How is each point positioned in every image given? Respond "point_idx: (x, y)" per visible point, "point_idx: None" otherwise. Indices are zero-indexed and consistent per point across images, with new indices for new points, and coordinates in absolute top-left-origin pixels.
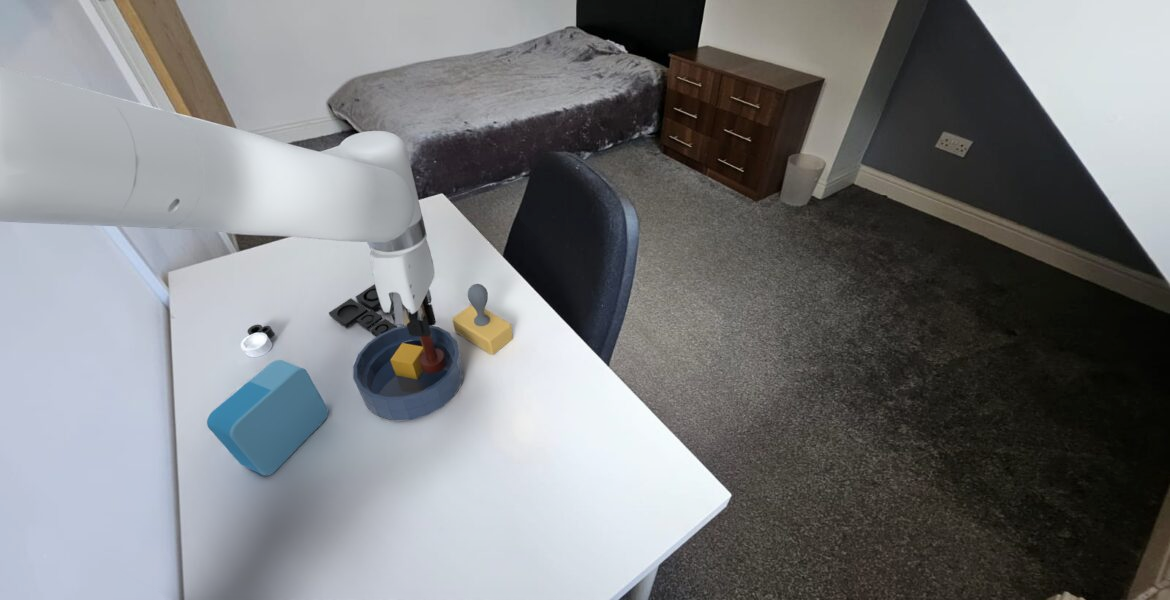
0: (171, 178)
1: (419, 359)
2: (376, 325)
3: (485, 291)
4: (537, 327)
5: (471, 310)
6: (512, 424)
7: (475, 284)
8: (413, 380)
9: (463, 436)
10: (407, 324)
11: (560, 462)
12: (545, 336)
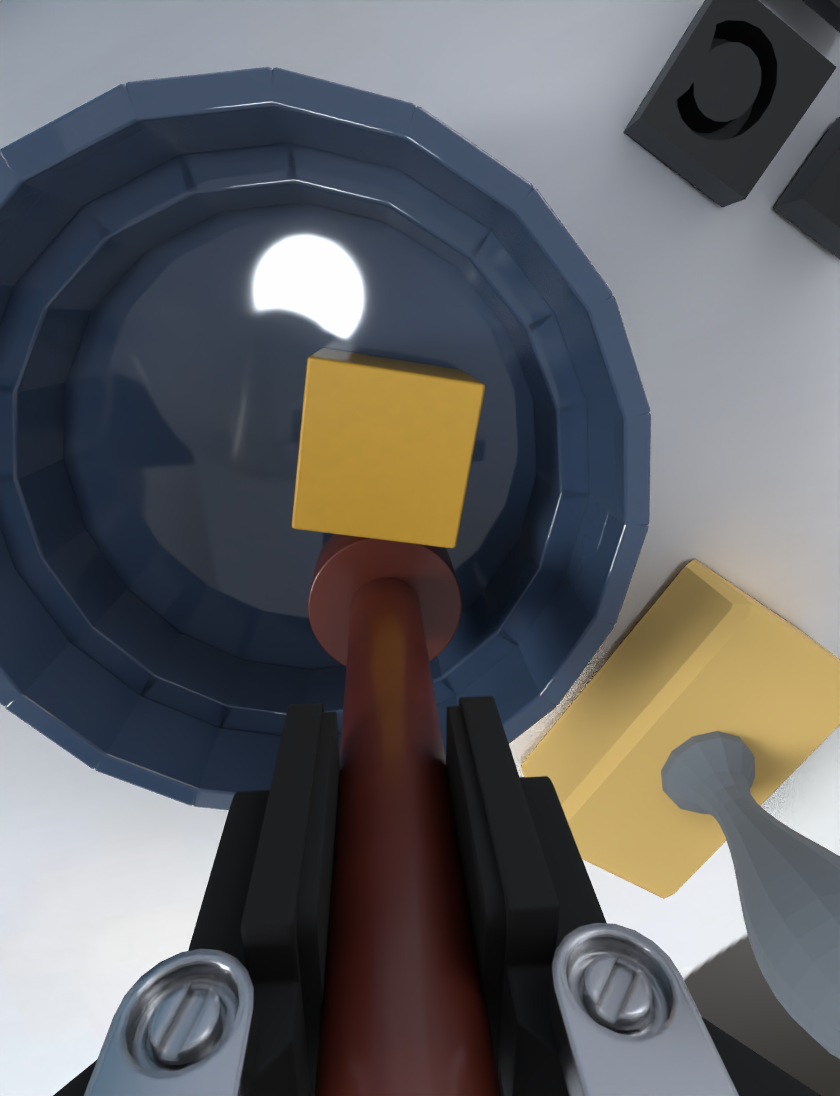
0: None
1: (353, 545)
2: (768, 15)
3: None
4: (693, 894)
5: (802, 696)
6: (157, 908)
7: None
8: None
9: (52, 763)
10: (266, 819)
11: (43, 1057)
12: (635, 929)
